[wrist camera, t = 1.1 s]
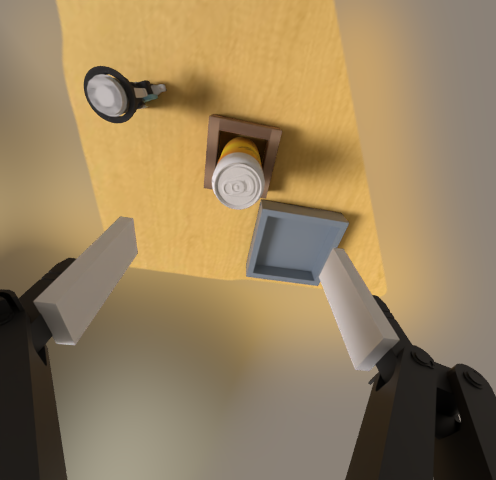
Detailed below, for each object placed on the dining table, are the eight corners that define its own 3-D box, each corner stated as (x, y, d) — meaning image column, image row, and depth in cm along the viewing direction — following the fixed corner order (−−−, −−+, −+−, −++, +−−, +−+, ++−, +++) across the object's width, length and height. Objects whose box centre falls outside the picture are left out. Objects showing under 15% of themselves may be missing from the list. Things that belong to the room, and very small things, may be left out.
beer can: (261, 171, 38) (268, 208, 26) (226, 176, 39) (217, 215, 26) (256, 133, 35) (262, 155, 22) (219, 139, 35) (204, 164, 23)
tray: (261, 199, 41) (262, 208, 38) (341, 213, 43) (349, 223, 39) (246, 264, 50) (246, 276, 46) (313, 273, 51) (317, 285, 48)
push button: (158, 65, 30) (125, 54, 22) (174, 109, 33) (150, 114, 25) (115, 78, 31) (66, 73, 23) (134, 120, 34) (97, 129, 25)
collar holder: (212, 114, 33) (209, 116, 30) (279, 127, 34) (282, 131, 31) (206, 180, 39) (203, 187, 36) (264, 190, 40) (265, 198, 37)
